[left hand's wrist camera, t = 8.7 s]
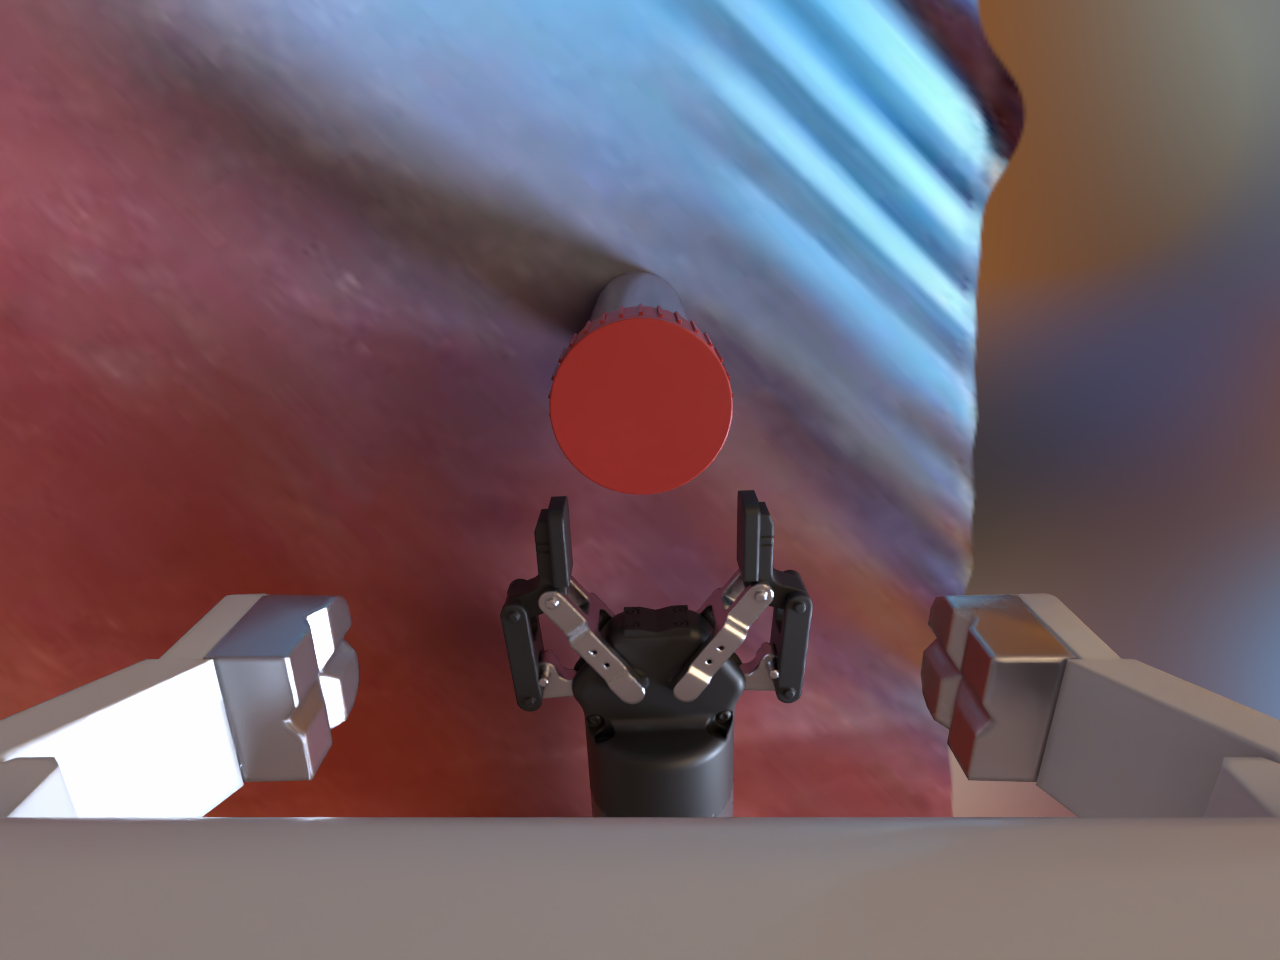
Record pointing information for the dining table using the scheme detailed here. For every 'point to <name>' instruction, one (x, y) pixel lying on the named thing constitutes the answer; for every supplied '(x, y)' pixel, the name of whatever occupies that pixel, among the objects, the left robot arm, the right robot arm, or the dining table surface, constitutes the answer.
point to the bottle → (638, 294)
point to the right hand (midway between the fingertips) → (652, 499)
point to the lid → (640, 400)
